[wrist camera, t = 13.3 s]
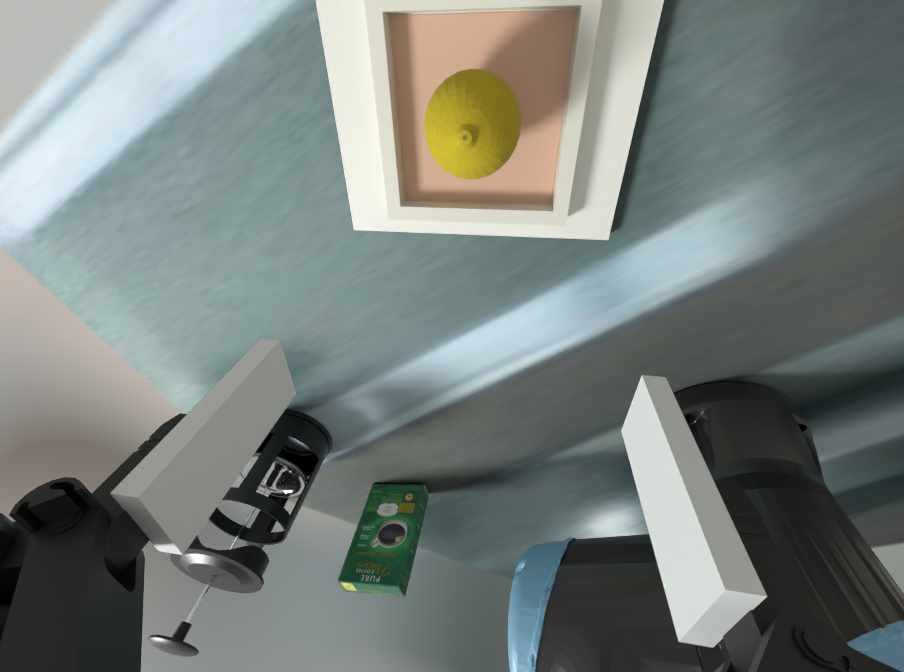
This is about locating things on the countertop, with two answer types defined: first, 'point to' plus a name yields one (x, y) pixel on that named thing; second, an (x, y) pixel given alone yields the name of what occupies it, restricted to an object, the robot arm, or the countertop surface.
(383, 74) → the tray
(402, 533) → the coffee box
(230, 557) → the french press
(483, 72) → the lemon
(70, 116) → the countertop surface
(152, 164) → the countertop surface
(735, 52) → the countertop surface
